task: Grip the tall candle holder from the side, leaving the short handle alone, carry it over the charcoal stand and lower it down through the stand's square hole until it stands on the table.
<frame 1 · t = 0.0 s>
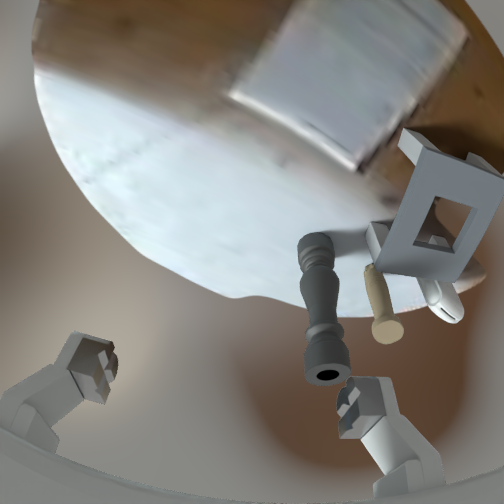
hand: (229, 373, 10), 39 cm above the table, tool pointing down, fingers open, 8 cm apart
handle: (371, 268, 57), on the table
photo printer: (429, 269, 56), on the table
candle holder: (314, 246, 55), on the table
hole stand: (425, 196, 47), on the table
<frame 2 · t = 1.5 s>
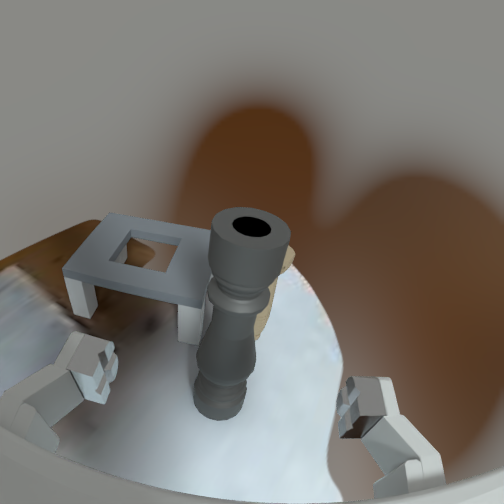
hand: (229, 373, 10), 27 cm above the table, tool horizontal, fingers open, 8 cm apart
handle: (249, 334, 47), on the table
candle holder: (218, 399, 37), on the table
hole stand: (148, 294, 50), on the table
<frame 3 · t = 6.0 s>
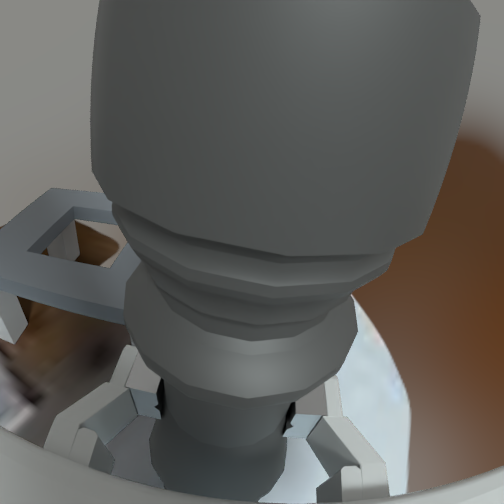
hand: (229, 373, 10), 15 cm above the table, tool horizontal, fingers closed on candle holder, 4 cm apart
candle holder: (211, 490, 17), on the table, touching gripper
hole stand: (101, 306, 30), on the table
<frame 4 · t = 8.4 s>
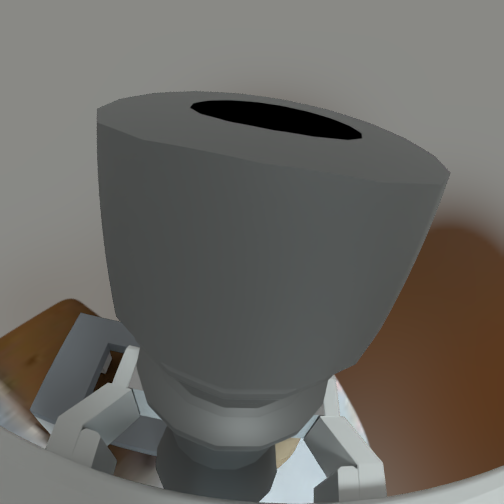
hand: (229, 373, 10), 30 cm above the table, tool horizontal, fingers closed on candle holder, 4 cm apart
handle: (268, 460, 33), on the table
candle holder: (210, 496, 19), point 13 cm above the table, touching gripper
hole stand: (141, 413, 36), on the table
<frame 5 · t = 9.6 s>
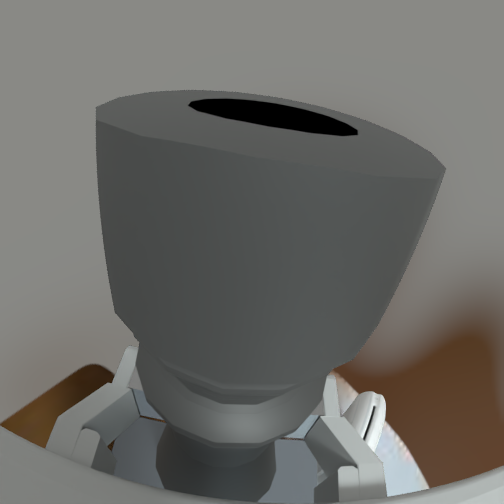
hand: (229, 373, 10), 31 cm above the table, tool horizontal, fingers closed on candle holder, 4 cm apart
photo printer: (330, 461, 34), on the table
candle holder: (210, 495, 19), point 14 cm above the table, touching gripper
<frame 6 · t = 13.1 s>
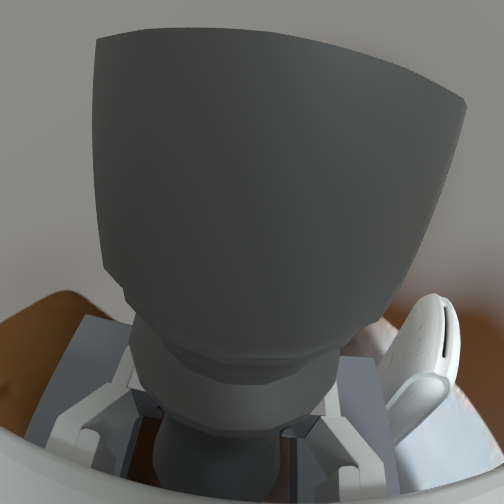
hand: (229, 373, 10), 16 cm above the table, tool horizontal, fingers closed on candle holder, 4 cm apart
photo printer: (378, 411, 26), on the table
candle holder: (210, 495, 18), on the table, touching gripper
hole stand: (207, 493, 18), on the table
when the fingers open (16 cm above the table, at t = 13.5 s): candle holder stays where it is, on the table.
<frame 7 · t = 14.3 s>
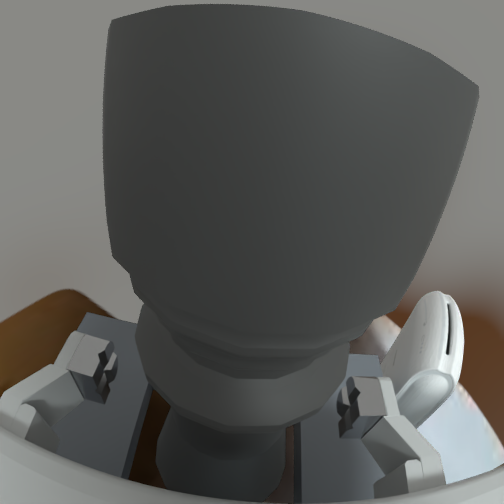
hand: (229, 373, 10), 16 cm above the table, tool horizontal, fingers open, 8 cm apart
photo printer: (381, 410, 26), on the table
candle holder: (213, 494, 18), on the table
hole stand: (210, 493, 18), on the table
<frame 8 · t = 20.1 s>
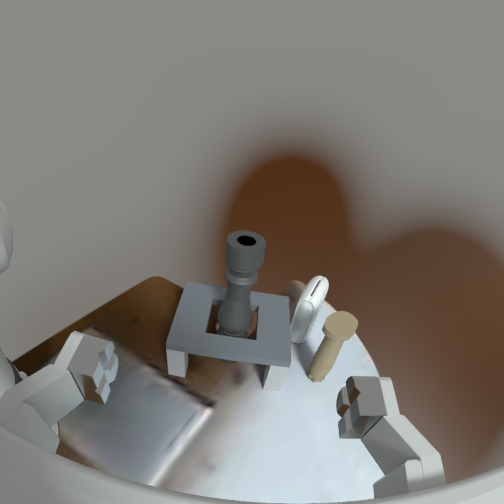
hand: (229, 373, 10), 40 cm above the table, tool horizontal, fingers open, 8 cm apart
handle: (315, 377, 57), on the table
photo printer: (301, 328, 68), on the table
candle holder: (229, 351, 60), on the table
hole stand: (228, 350, 60), on the table
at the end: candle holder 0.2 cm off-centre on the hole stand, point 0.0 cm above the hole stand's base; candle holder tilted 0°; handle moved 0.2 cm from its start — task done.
